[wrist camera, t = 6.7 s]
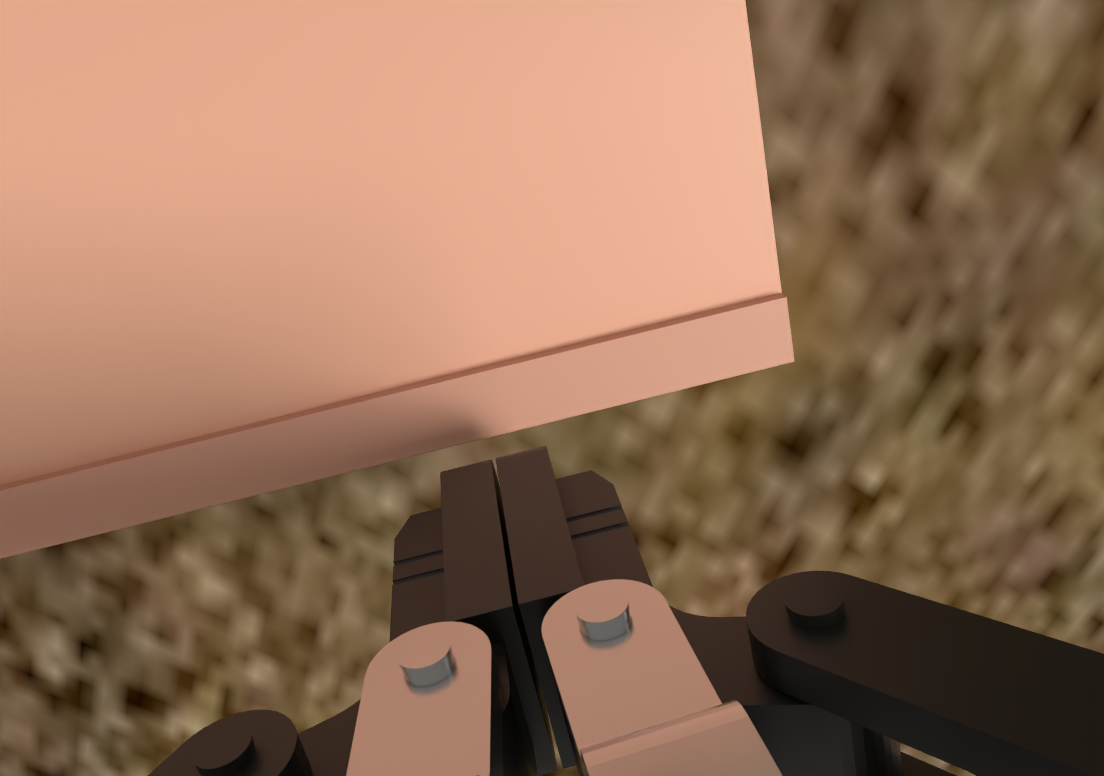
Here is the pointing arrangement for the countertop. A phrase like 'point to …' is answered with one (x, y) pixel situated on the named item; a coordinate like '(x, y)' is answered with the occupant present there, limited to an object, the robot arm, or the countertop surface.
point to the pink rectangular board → (358, 236)
